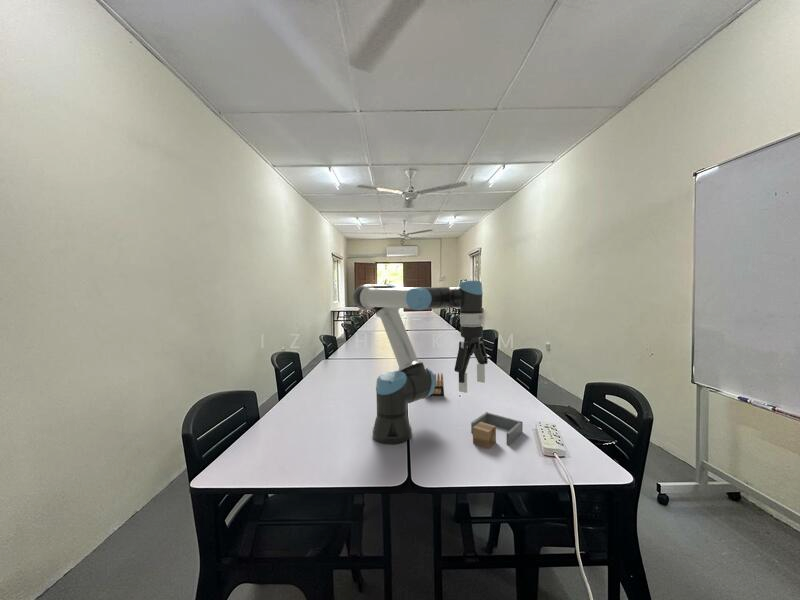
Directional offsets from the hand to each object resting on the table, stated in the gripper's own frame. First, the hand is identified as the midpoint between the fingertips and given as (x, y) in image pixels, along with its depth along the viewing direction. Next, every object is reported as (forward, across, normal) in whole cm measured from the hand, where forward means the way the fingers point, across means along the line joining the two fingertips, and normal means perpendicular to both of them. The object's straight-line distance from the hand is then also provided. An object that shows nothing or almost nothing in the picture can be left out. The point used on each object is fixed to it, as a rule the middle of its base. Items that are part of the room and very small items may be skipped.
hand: (472, 386), depth 105 cm
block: (+22, +7, -1) cm, 23 cm away
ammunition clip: (+22, +37, +41) cm, 60 cm away
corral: (+22, +17, -1) cm, 28 cm away
